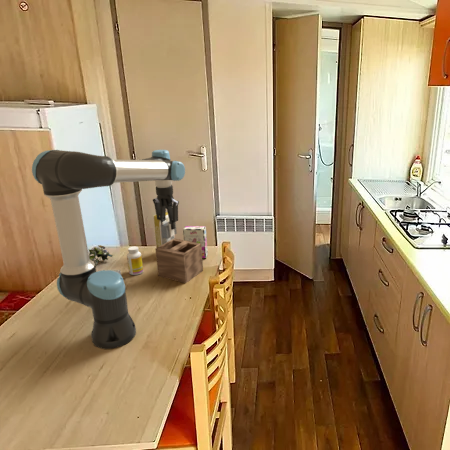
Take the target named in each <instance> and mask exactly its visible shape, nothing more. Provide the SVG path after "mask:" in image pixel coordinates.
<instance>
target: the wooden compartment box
mask: <svg viewBox="0 0 450 450" xmlns="http://www.w3.org/2000/svg"><path fill="white" fill-rule="evenodd" d="M154 250H155V256H156V257H155V258H156V267H157V274H158V275H157V276H158V277H161V278H165V279H169V280H172V281H176V282H179V283H182V284H183V283H184V284H187V283H189V282H190V281H191V280H192V279H194V278H195V277H197V275H199V274H200V273H202V272H203V271H204V265H203V264H204V261H203V259H202V246H201V244H200V243H195V242H190V241H185V240H184V239H180V238H175V237H174V239H172V240H170V241H168V242H167V243H165V244H163V245H161V246H159V247H157V248H155V249H154Z"/></svg>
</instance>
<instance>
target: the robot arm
mask: <svg viewBox="0 0 450 450" xmlns="http://www.w3.org/2000/svg"><path fill="white" fill-rule="evenodd" d="M31 173H32V176H33V179H34V180H35V181H36V182H37V183H38V184H40V185H41V187H42V191H43V194H44V196H45V197H47V198H48V199H50V205H51V208H52V214H53V219H54V225H55V228H56V232H57V239H58V243H59V248H60V252H61V258H62V262H63V263H62V264H63V265H62V266H61V268H60V270H59V272H60V273H59V274H58V278H56V288H57V290H58V292H59V294H60V295H61V296H62V297H64V298H65V299H66V300H69V301H71V302H75V303H78V304H80V305H83V306H86V307H88V308H90V309H91V311H92V317H93V326H92V331H91V334H90V335H91V342H92V344H93V345H94V347H96V348H99V349H104V350H110V349H117V348H120V347H122V346H125V345H126V344H128V343H130V342H131V341H132V340H133V339H134V338H135V336H136V334H137V327H136V324H135V322H134V321H133V317H132V316H131V315H130V312H129V310H128V309H129V307H128V299H127V291H126V284H125V282H124V278H123V276H122V274H121V275H120V274H119V273H117V272H115V271H111V270H112V269H101V270H98V271H97V268H96V267H97V266H96V263H95V261H92V260H90V259H89V253H90V252H89V250H88V249H89V248H88V243H87V237H86V232H85V227H84V222H83V221H84V220H83V215H82V211H81V210H82V209H81V203H80V199H79V194H80V193H82V191H83V190H86V189H94V188H102V187H103V188H104V187H111V186H113V184H114V183H115V184H117V183H135V182H153V181H154V186H155V194H156V197H155V198H153V199H152V202H153V204H154V210H155V215H156V216H157V220H160V221H161V225H163V224H165V223H167V220H166V212H168V216H169V221H170V222H169V223H168V224H169V233H170V237H172V236H174V237H175V235H176V234H175V232H174V229H175V222H176V223H177V222H178V221H179V204H180V201H179V200H176V199H174V186H173V182H175V181H176V182H177V181H178V182H179V181H181V180H183V179H184V177H185V175H186V167H185V165H184V163H183V162H182V161H177V160H171V155H170V151H169V150H167V149H155V150H152V151H151V157H147V158H142V159H113V158H112V157H110V156H109V155H108V156H107V155H97V154H91V153H85V152H81V151H70V150H69V151H68V150H62V149H61V150H60V149H49V150H44V151H41V152H40V153H39V154H38V155H36V157H35V158H34V160H33V162H32V166H31ZM95 266H96V267H95ZM105 270H107V271H105Z"/></svg>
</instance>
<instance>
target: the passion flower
mask: <svg viewBox="0 0 450 450" xmlns="http://www.w3.org/2000/svg"><path fill="white" fill-rule="evenodd" d="M97 246H98V247H96V246H95V247H93V248H92V249H90V248H88V253H89V259H90V260H92V261H93V262H94V263H95V267H97V264H98V263H99V262H100V260H101V259H102V261H106V260H107V261H108V260H109V257H110V258H112V257H113V254H110V252H109V251H108V250H107V249H106V247H105V245H97Z"/></svg>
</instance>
